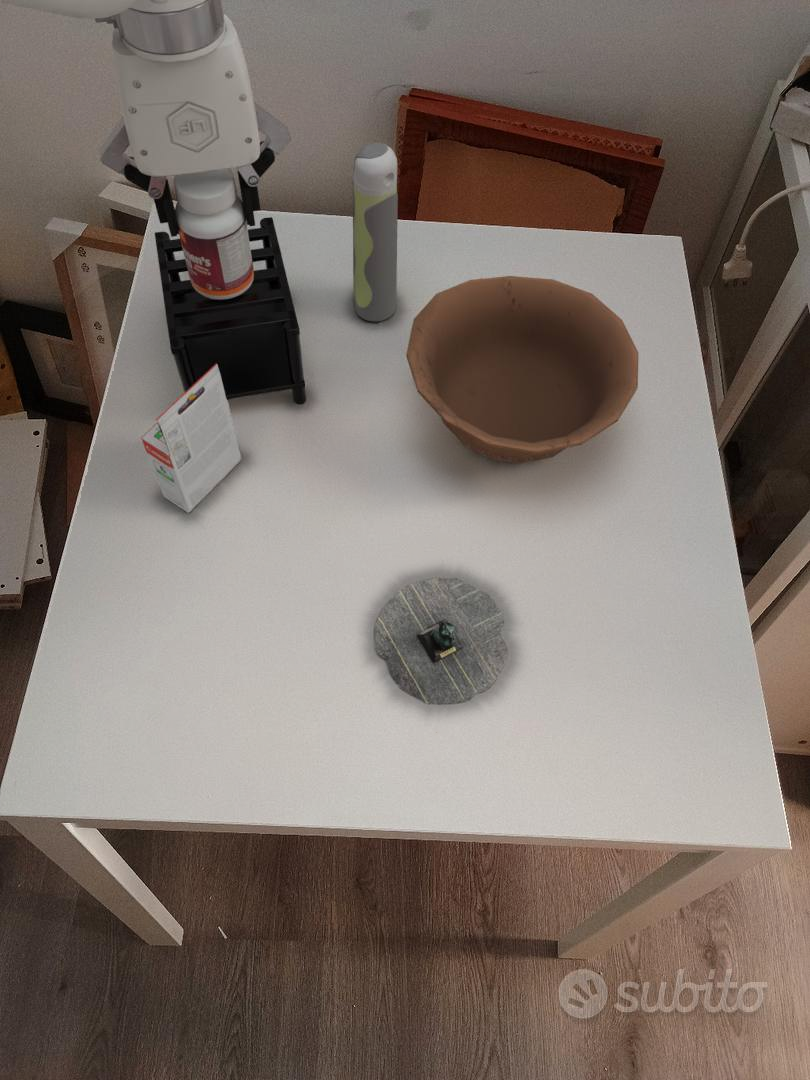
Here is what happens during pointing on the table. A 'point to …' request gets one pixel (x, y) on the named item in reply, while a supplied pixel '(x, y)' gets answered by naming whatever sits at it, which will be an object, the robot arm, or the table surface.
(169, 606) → the table surface
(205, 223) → the pill bottle
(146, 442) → the ink box
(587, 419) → the bowl
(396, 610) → the sculpture
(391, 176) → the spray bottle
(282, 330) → the rack
